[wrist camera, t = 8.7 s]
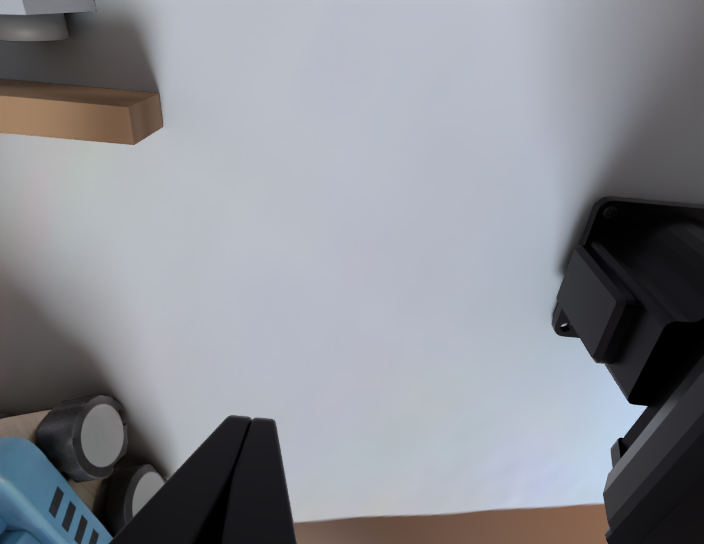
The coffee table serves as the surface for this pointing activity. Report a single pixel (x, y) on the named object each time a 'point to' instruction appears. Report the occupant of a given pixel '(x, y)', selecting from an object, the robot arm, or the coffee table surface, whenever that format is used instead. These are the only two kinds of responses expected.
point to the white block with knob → (38, 18)
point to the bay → (78, 112)
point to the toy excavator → (69, 475)
